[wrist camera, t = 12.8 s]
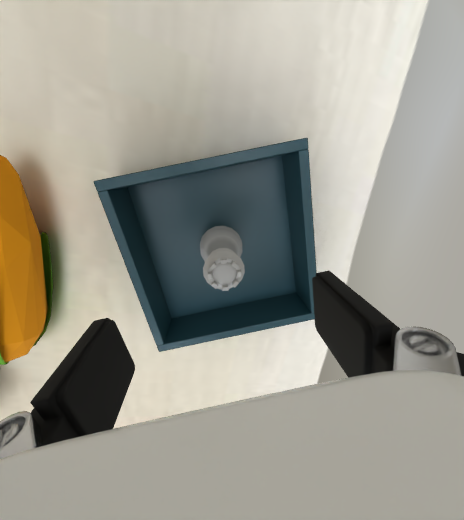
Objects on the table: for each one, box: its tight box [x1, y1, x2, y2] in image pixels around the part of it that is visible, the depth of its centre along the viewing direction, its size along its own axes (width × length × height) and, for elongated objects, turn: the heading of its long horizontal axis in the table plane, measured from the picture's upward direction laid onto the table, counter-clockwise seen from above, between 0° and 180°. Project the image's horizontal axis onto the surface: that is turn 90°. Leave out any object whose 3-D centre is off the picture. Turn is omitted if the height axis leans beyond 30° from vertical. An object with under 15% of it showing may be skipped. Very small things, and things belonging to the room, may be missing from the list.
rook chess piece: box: [200, 226, 245, 291], centre depth 21 cm, size 4×4×8 cm
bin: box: [94, 138, 316, 352], centre depth 23 cm, size 17×17×5 cm
